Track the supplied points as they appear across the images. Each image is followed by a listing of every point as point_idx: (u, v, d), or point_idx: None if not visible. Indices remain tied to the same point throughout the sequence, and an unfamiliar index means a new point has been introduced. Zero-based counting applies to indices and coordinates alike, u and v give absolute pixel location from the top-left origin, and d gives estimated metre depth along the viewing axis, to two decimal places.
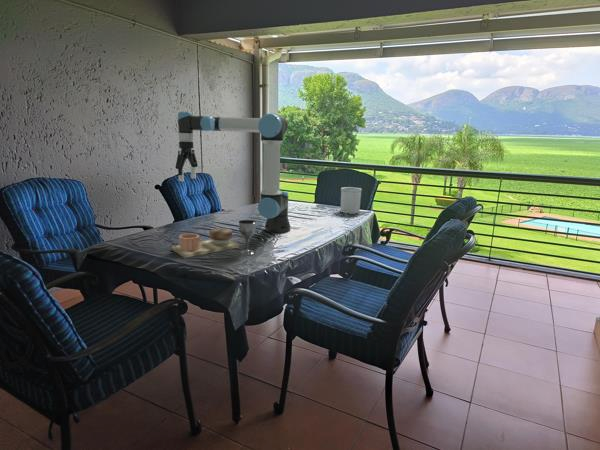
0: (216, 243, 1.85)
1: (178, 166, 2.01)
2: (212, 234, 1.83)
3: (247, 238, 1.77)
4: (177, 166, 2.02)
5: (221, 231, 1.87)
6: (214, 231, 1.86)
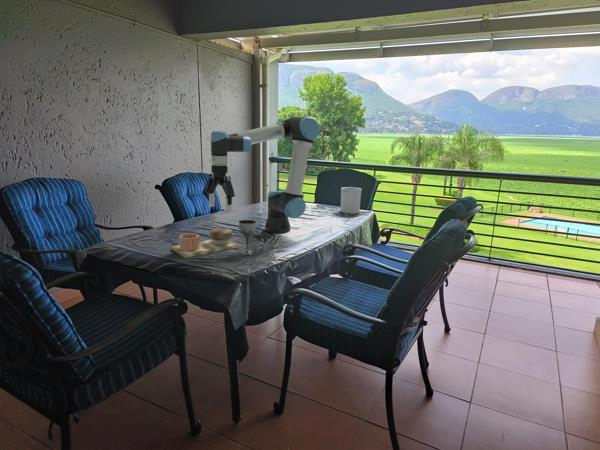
0: (216, 243, 1.85)
1: (233, 194, 1.76)
2: (212, 234, 1.83)
3: (247, 238, 1.77)
4: (232, 194, 1.76)
5: (221, 231, 1.87)
6: (214, 231, 1.86)
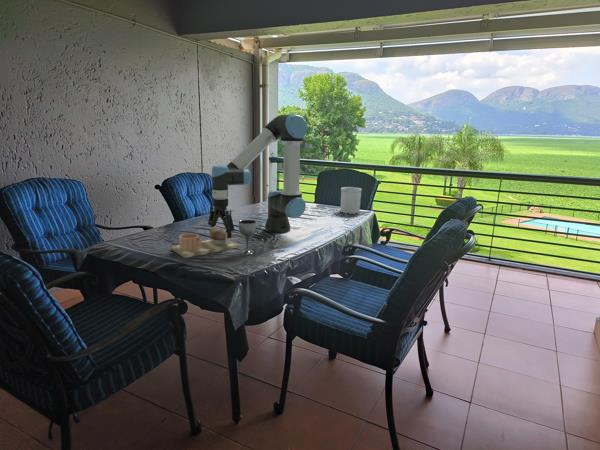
0: (216, 243, 1.85)
1: (232, 228, 1.81)
2: (212, 234, 1.83)
3: (247, 238, 1.77)
4: (231, 229, 1.81)
5: (221, 231, 1.87)
6: (214, 231, 1.86)
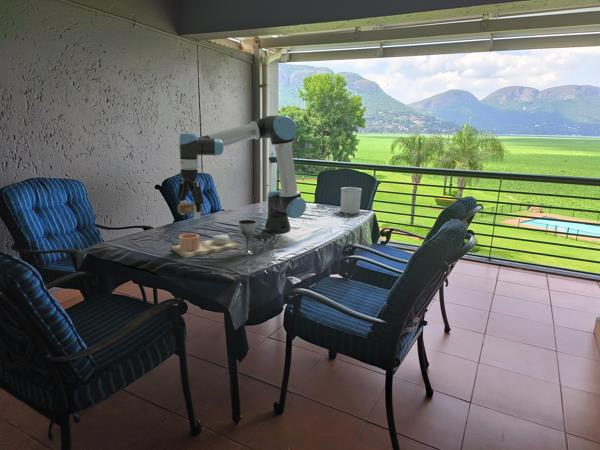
0: (216, 243, 1.85)
1: (201, 201, 1.68)
2: (180, 207, 1.70)
3: (247, 238, 1.77)
4: (200, 201, 1.68)
5: (190, 204, 1.74)
6: (182, 205, 1.73)
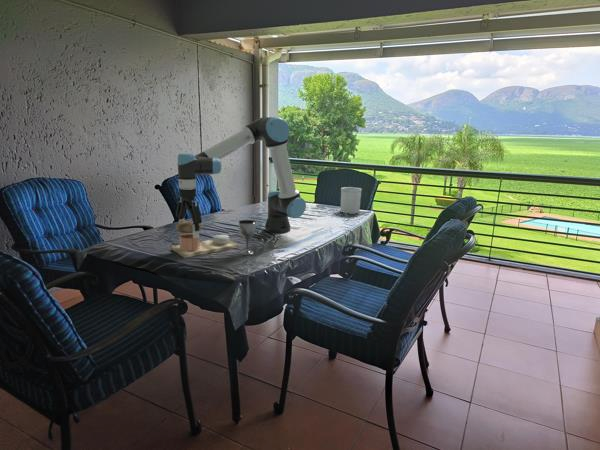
0: (216, 243, 1.85)
1: (200, 221, 1.69)
2: (178, 227, 1.71)
3: (247, 238, 1.77)
4: (199, 221, 1.69)
5: (189, 223, 1.75)
6: (181, 224, 1.74)
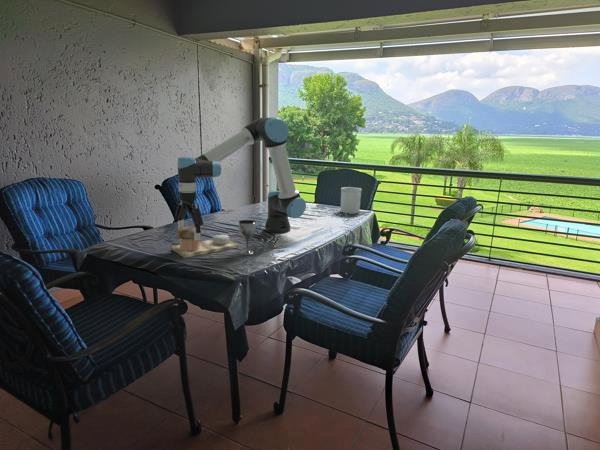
0: (216, 243, 1.85)
1: (201, 223, 1.69)
2: (179, 233, 1.72)
3: (247, 238, 1.77)
4: (200, 223, 1.68)
5: (189, 229, 1.76)
6: (181, 230, 1.75)
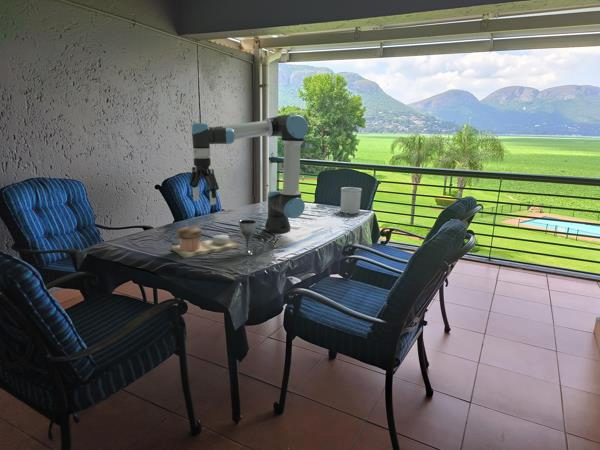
0: (216, 243, 1.85)
1: (217, 187, 1.73)
2: (179, 233, 1.72)
3: (247, 238, 1.77)
4: (216, 187, 1.73)
5: (189, 229, 1.76)
6: (181, 230, 1.75)
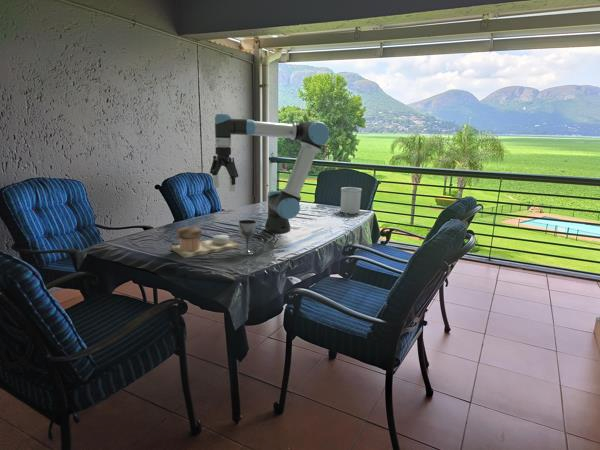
0: (216, 243, 1.85)
1: (236, 175, 1.83)
2: (179, 233, 1.72)
3: (247, 238, 1.77)
4: (236, 175, 1.83)
5: (189, 229, 1.76)
6: (181, 230, 1.75)
